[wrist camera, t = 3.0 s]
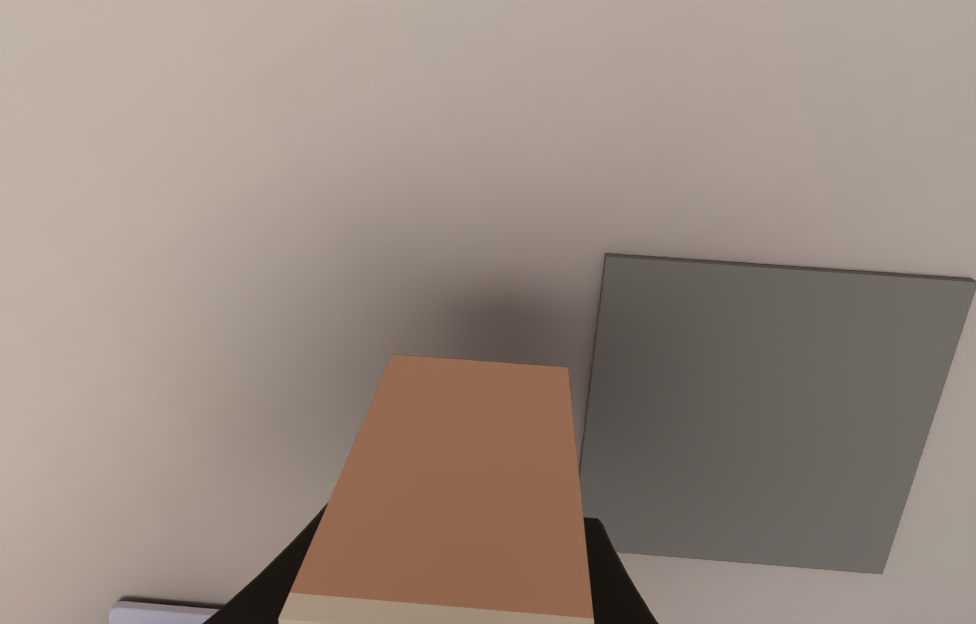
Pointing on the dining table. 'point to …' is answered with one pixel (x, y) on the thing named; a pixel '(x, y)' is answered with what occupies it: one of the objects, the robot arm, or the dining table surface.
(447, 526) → the block
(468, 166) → the dining table surface
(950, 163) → the dining table surface
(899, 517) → the mat
